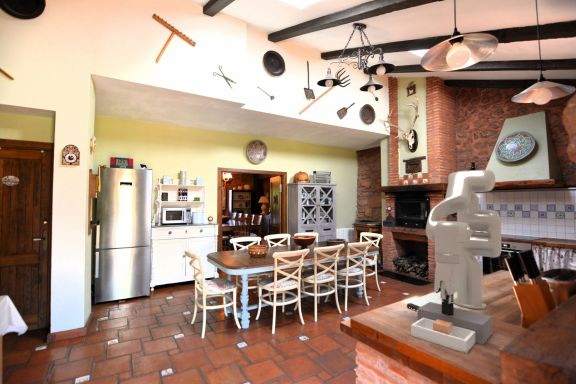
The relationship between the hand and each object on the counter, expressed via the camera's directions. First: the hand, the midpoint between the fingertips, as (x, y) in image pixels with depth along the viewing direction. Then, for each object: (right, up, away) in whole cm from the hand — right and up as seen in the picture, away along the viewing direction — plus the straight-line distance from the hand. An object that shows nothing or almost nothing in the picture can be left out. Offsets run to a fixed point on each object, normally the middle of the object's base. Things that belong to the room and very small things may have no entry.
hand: (447, 314), depth 99 cm
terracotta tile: (-4, -3, -5) cm, 7 cm away
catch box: (-4, -6, -4) cm, 8 cm away
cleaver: (+8, -9, +17) cm, 21 cm away
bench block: (+4, -7, +4) cm, 9 cm away
